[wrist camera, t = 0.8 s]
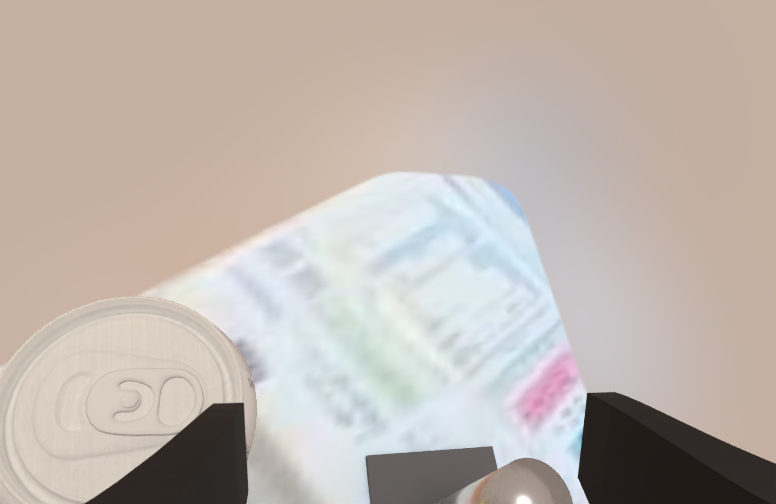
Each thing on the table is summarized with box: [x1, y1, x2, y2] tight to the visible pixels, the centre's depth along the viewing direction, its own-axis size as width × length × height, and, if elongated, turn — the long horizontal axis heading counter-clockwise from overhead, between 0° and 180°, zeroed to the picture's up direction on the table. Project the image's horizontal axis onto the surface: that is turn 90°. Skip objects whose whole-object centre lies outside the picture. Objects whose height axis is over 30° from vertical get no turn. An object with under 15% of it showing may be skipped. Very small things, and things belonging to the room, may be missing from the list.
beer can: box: [0, 296, 257, 504], centre depth 19 cm, size 6×6×15 cm
